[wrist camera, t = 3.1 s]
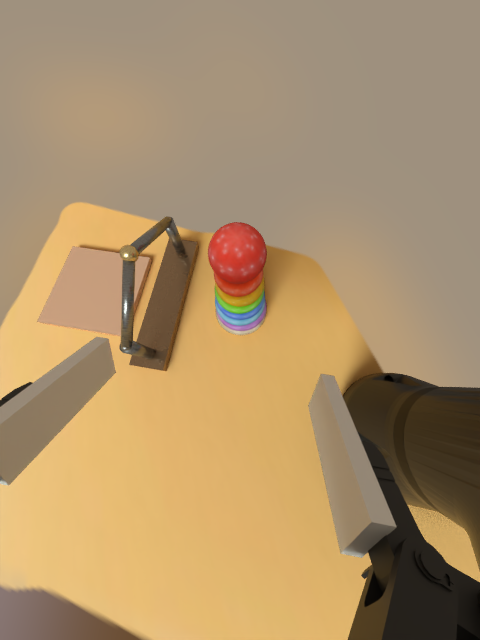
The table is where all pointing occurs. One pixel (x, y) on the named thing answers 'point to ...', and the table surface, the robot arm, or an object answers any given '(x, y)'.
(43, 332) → the table surface
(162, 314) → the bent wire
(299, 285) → the table surface
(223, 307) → the stacking toy
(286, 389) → the table surface
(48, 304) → the terracotta pad
